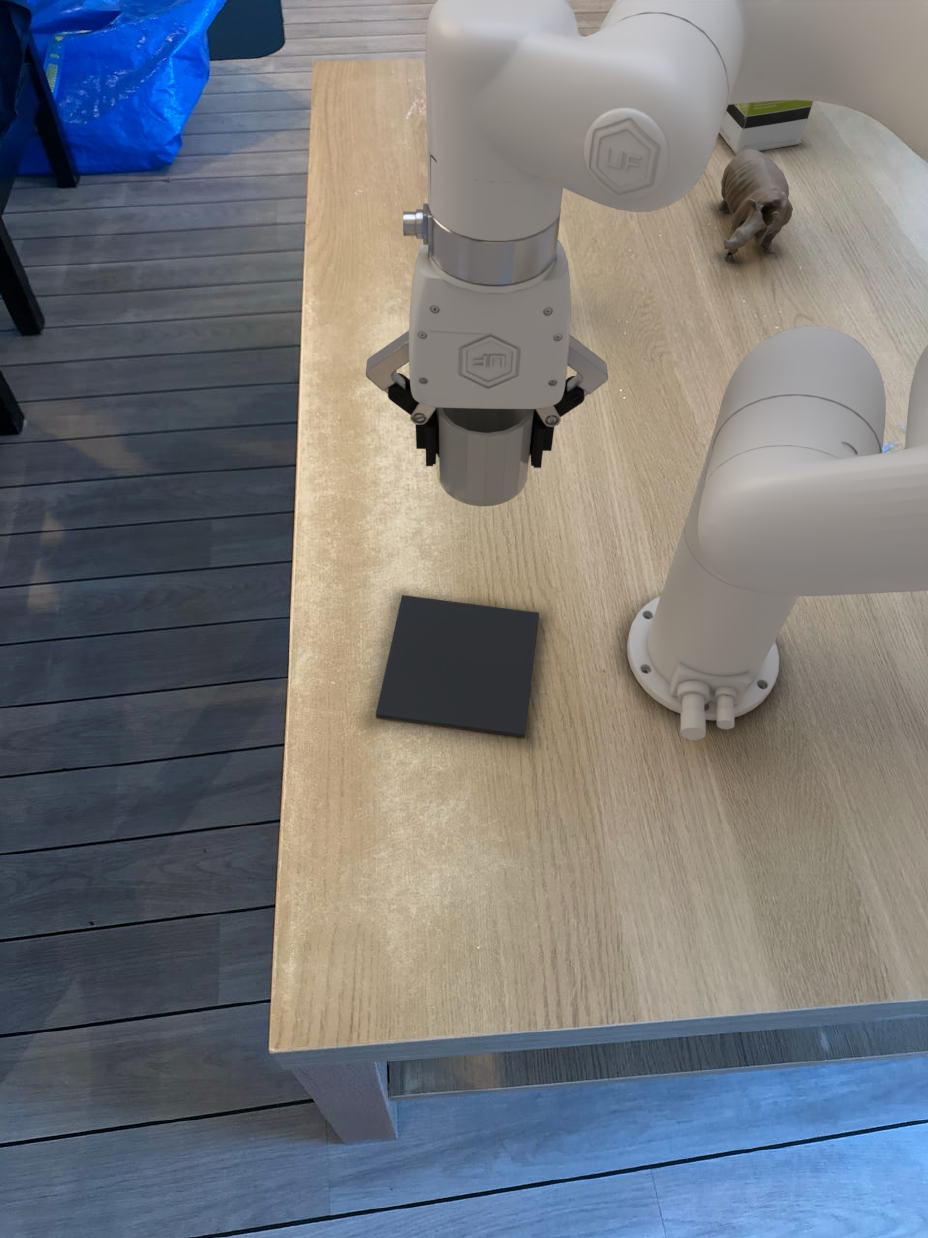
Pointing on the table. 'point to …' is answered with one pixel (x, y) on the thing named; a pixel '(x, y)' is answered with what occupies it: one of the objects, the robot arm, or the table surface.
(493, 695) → the slate mat
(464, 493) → the steel pot
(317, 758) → the table surface
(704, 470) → the robot arm
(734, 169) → the rhinoceros figurine
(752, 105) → the tea box
